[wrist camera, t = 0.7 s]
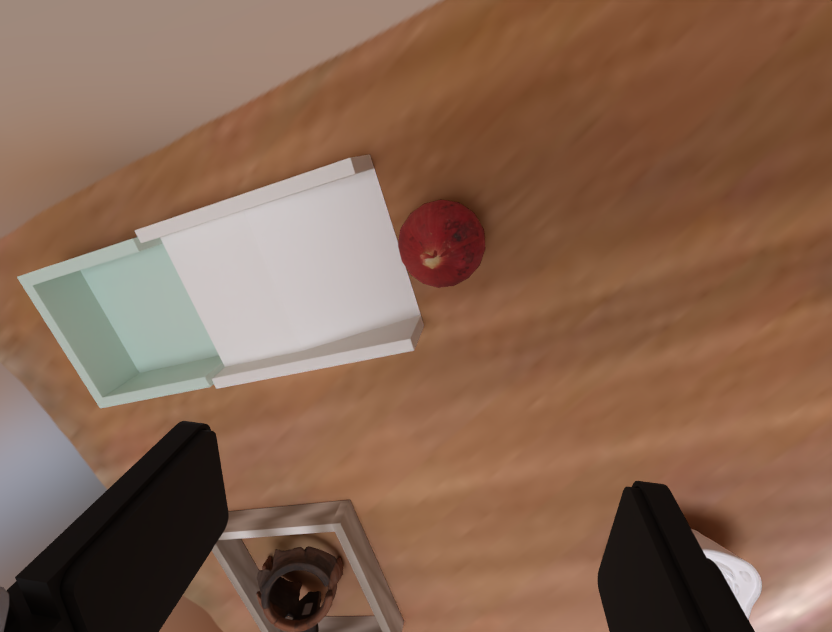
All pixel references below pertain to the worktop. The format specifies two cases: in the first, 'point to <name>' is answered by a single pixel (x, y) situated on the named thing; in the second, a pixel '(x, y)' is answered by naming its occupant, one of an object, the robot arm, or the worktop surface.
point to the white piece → (296, 274)
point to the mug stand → (302, 520)
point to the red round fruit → (441, 243)
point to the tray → (125, 322)
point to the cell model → (733, 572)
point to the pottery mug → (297, 588)
